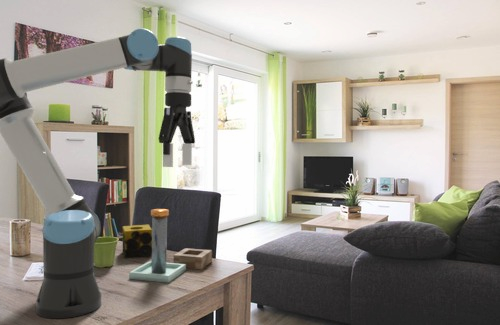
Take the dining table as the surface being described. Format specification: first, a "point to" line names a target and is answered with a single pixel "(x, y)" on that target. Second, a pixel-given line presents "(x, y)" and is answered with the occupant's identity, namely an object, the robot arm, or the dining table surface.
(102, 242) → the plant pot
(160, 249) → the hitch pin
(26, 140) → the robot arm
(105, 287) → the dining table surface
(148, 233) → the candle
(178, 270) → the tray
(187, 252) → the socket collar
